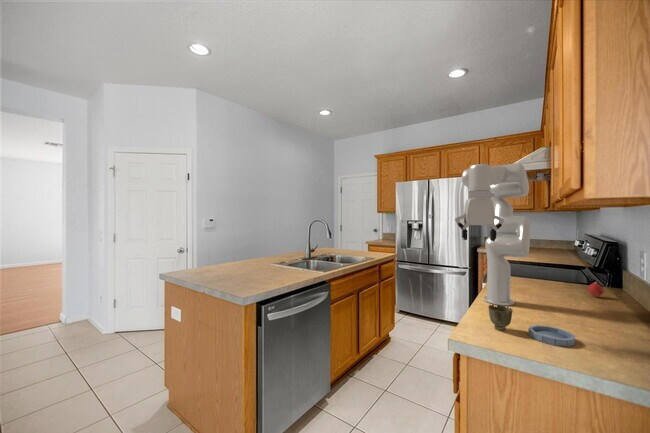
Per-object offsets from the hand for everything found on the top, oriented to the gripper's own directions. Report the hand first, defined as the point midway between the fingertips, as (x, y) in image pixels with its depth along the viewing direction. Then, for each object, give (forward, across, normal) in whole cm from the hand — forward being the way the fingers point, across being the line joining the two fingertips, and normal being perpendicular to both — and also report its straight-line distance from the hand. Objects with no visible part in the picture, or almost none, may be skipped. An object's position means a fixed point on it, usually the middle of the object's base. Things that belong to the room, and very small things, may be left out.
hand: (478, 240), depth 110 cm
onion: (+29, -69, -52) cm, 91 cm away
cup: (+32, -6, +6) cm, 33 cm away
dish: (+32, -20, +10) cm, 38 cm away
